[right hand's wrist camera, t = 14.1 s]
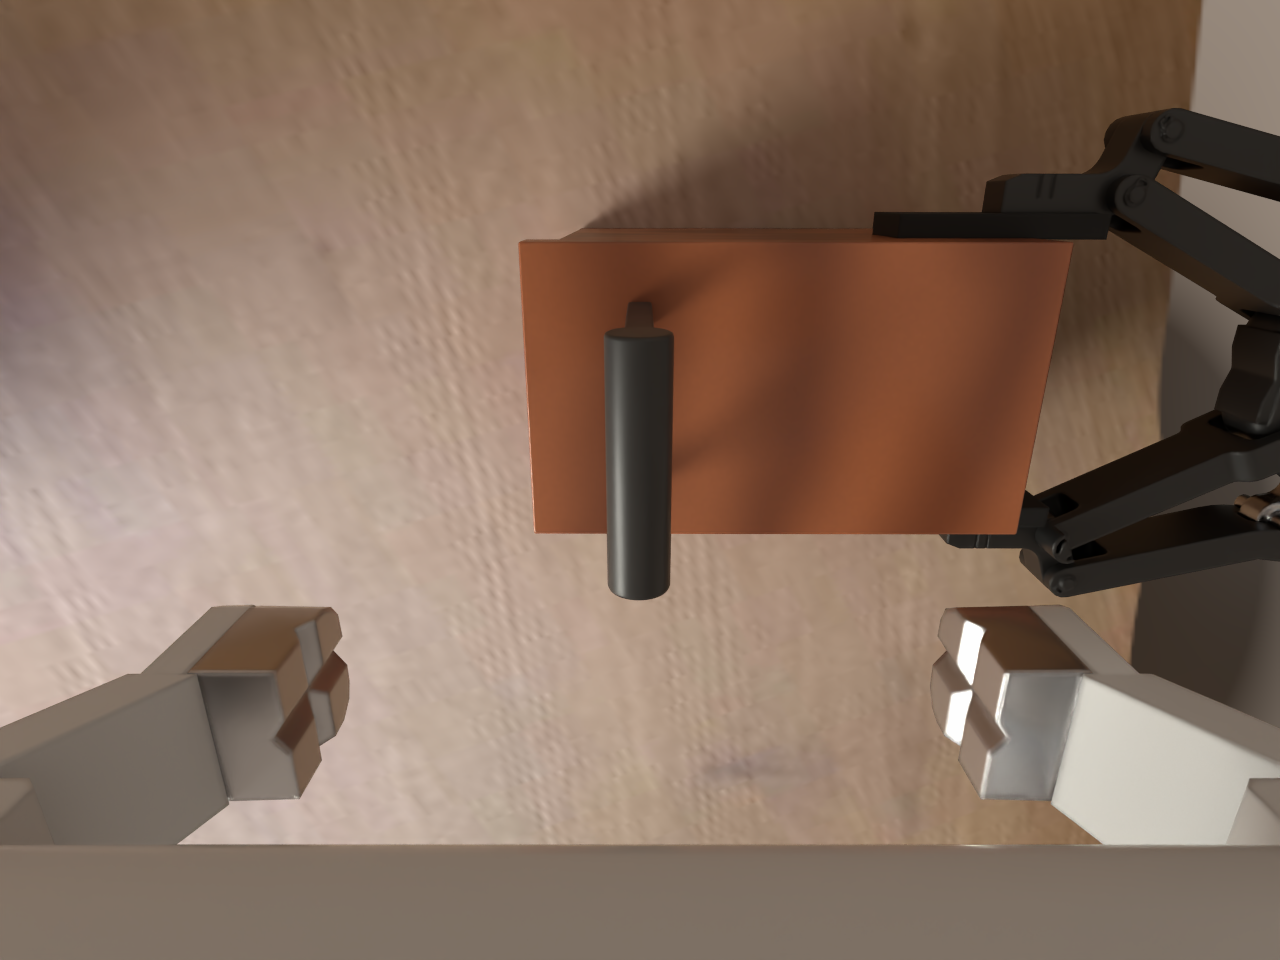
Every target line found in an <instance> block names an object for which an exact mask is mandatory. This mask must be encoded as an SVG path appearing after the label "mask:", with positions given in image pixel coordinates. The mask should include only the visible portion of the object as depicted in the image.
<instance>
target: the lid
mask: <svg viewBox="0 0 1280 960" xmlns="http://www.w3.org/2000/svg"><path fill="white" fill-rule="evenodd" d="M518 245H519V263H520V282H521V300H522V318H523V337H524V355H525V373H526V392H527V410H528V428H529V447H530V465H531V483H532V502H533V520H534V532H535V533H575V534H607V564H608V586H609V588H610V590H611V591H612V592H613V593H614V594H615V595H617V596H619V597H622V598H625V599H630V600H648V599H653V598H656V597H659V596H661V595H663V594H664V593H665V592H666V591H667V590H668V588H669V586H670V558H671V534H1016V533H1017V528H1018V523H1019V518H1020V513H1021V508H1022V503H1023V498H1024V493H1025V488H1026V483H1027V478H1028V473H1029V468H1030V463H1031V458H1032V452H1033V447H1034V442H1035V437H1036V432H1037V427H1038V422H1039V417H1040V412H1041V407H1042V402H1043V397H1044V392H1045V387H1046V382H1047V377H1048V372H1049V366H1050V361H1051V356H1052V351H1053V346H1054V341H1055V336H1056V331H1057V326H1058V321H1059V316H1060V311H1061V306H1062V301H1063V296H1064V291H1065V285H1066V280H1067V275H1068V270H1069V265H1070V260H1071V255H1072V250H1073V245H1074V244H1073V242H1066V241H1056V240H524V241H521V242H519V244H518Z"/></svg>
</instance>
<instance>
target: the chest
mask: <svg viewBox="0 0 1280 960" xmlns="http://www.w3.org/2000/svg"><path fill="white" fill-rule="evenodd" d="M872 232H873V229H813V228H582V229H580V230H578V231H576V232H574V233H572V234H570V235H568V236H566V237H564V238H562V239H560V240H1045V239H1034V238H892V237H886V236H879V235H872Z"/></svg>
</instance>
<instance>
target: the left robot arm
mask: <svg viewBox="0 0 1280 960" xmlns="http://www.w3.org/2000/svg"><path fill="white" fill-rule="evenodd" d="M1104 144H1105V150H1104V152H1103V154H1102V155H1101V157H1100V159H1099V160H1098V162H1097V163H1096V164H1095V165H1094V166H1093V167H1092V168H1091V169H1090V170H1088V171H1087V172H1085V173H1082V174H1012V175H1002V176H1000V177H997V178H995V179H992V180H990V181H987V183H986V189H985V195H984V202H983V208H982V212H875V213H874V223H873V232H872V235H879V236H886V237H892V238H1034V239H1103V240H1106V239H1107V234H1108V230H1109V231H1111V232H1112V233H1114V234H1116V235H1117V236H1119V237H1121V238H1122V239H1124V240H1126V241H1127V242H1129V243H1130V244H1132V245H1134V246H1135V247H1137V248H1139V249H1140V250H1142V251H1144V252H1145V253H1147V254H1148V255H1150V256H1152V257H1153V258H1155V259H1157V260H1158V261H1160V262H1162V263H1163V264H1165V265H1166V266H1168V267H1170V268H1171V269H1173V270H1175V271H1176V272H1178V273H1180V274H1181V275H1183V276H1184V277H1186V278H1188V279H1189V280H1191V281H1193V282H1194V283H1196V284H1198V285H1199V286H1201V287H1202V288H1204V289H1206V290H1207V291H1209V292H1211V293H1212V294H1214V295H1215V296H1216V300H1217V301H1218V302H1220V303H1221V304H1223V305H1225V306H1226V307H1228V308H1230V309H1231V310H1233V311H1234V312H1236V313H1238V314H1239V315H1241V316H1243V317H1244V318H1246V319H1248V320H1249V321H1248V323H1247V324H1246V325H1238V327H1237V330H1236V334H1235V337H1234V341H1233V344H1232V367H1231V370H1230V372H1229V374H1228V375H1227V377H1226V379H1225V381H1224V383H1223V384H1222V386H1221V388H1220V390H1219V394H1218V397H1217V401H1216V404H1215V408H1214V409H1215V410H1213V411H1211V412H1208V413H1206V414H1204V415H1201V416H1199V417H1197V418H1195V419H1192V420H1190V421H1188V422H1186V423H1184V424H1183V425H1182V426H1181V431H1180V432H1179V433H1177V434H1175V435H1173V436H1171V437H1168V438H1166V439H1164V440H1161V441H1159V442H1157V443H1155V444H1152V445H1150V446H1148V447H1145V448H1143V449H1141V450H1138V451H1136V452H1134V453H1131V454H1129V455H1127V456H1125V457H1122V458H1120V459H1118V460H1115V461H1113V462H1111V463H1108V464H1106V465H1104V466H1101V467H1099V468H1097V469H1094V470H1092V471H1090V472H1088V473H1085V474H1083V475H1081V476H1078V477H1076V478H1074V479H1071V480H1069V481H1067V482H1064V483H1062V484H1060V485H1058V486H1055V487H1053V488H1051V489H1048V490H1046V491H1044V492H1041V493H1039V494H1037V495H1034V496H1033V495H1031V494H1030V493H1029V492H1028V491H1026V490H1025V493H1024V498H1023V503H1022V508H1021V513H1020V518H1019V523H1018V528H1017V533H1016V534H939V535H940V536H941V537H942V539H943V540H944V541H945V542H946V543H947V544H950V545H952V546H955V547H957V548H1022V550H1021V551H1020V556H1019V558H1020V562H1021V563H1022V564H1023V565H1024V566H1025V567H1026V568H1027V569H1028V570H1029V571H1030V572H1031V573H1032V574H1033V575H1034V576H1035V577H1036V578H1037V579H1038V580H1039V581H1041V582H1042V583H1043V584H1044V585H1045V586H1046V587H1047V588H1048V589H1049V590H1050V591H1051V592H1052V593H1053V594H1054V595H1056V596H1059V597H1070V596H1075V595H1080V594H1085V593H1090V592H1095V591H1100V590H1105V589H1110V588H1115V587H1120V586H1125V585H1130V584H1135V583H1140V582H1145V581H1150V580H1155V579H1160V578H1165V577H1170V576H1175V575H1180V574H1186V573H1191V572H1196V571H1201V570H1206V569H1210V568H1215V567H1221V566H1226V565H1231V564H1236V563H1241V562H1246V561H1251V560H1256V559H1262V560H1271V561H1280V483H1279V485H1278V486H1277V487H1276V488H1275V489H1273V490H1272V491H1270V492H1267V493H1263V494H1257V495H1253V496H1251V497H1250V496H1248V495H1244V494H1243V495H1240V496H1239V497H1237V498H1236V500H1235V502H1234V505H1210V506H1203V507H1197V508H1193V509H1188V510H1183V511H1178V512H1173V513H1168V514H1163V515H1158V516H1153V515H1155V514H1158V513H1160V512H1163V511H1165V510H1167V509H1170V508H1172V507H1174V506H1177V505H1179V504H1182V503H1184V502H1186V501H1189V500H1191V499H1194V498H1196V497H1198V496H1201V495H1203V494H1205V493H1208V492H1210V491H1213V490H1215V489H1218V488H1220V487H1222V486H1225V485H1227V484H1230V483H1233V482H1238V481H1241V482H1253V481H1259V480H1262V479H1265V478H1267V477H1270V476H1272V475H1274V474H1277V475H1278V476H1280V259H1278V258H1277V257H1275V256H1274V255H1272V254H1270V253H1269V252H1267V251H1266V250H1264V249H1263V248H1261V247H1259V246H1258V245H1256V244H1255V243H1253V242H1251V241H1250V240H1248V239H1247V238H1245V237H1244V236H1242V235H1240V234H1239V233H1237V232H1236V231H1234V230H1232V229H1231V228H1229V227H1228V226H1226V225H1225V224H1223V223H1221V222H1220V221H1218V220H1217V219H1215V218H1214V217H1212V216H1210V215H1209V214H1207V213H1206V212H1204V211H1203V210H1201V209H1199V208H1198V207H1196V206H1195V205H1193V204H1191V203H1190V202H1188V201H1187V200H1185V199H1184V198H1182V197H1180V196H1179V195H1177V194H1176V193H1174V192H1172V191H1171V190H1169V189H1168V188H1166V187H1165V186H1163V185H1161V184H1160V183H1158V182H1157V181H1155V178H1156V176H1157V174H1158V172H1159V171H1160V169H1163V170H1167V171H1170V172H1174V173H1178V174H1181V175H1185V176H1188V177H1192V178H1196V179H1199V180H1203V181H1207V182H1210V183H1214V184H1217V185H1221V186H1225V187H1228V188H1232V189H1236V190H1239V191H1243V192H1246V193H1250V194H1254V195H1257V196H1261V197H1265V198H1268V199H1272V200H1275V201H1279V202H1280V136H1276V135H1273V134H1269V133H1266V132H1262V131H1259V130H1255V129H1252V128H1248V127H1245V126H1241V125H1238V124H1234V123H1231V122H1227V121H1224V120H1220V119H1217V118H1213V117H1210V116H1206V115H1202V114H1199V113H1195V112H1192V111H1188V110H1185V109H1181V108H1171V109H1166V110H1160V111H1154V112H1148V113H1142V114H1137V115H1131V116H1125V117H1122V118H1119V119H1117V120H1115V121H1114V122H1113V123H1112V124H1111V125H1110V126H1109V128H1108V129H1107V131H1106V133H1105V138H1104ZM1151 516H1153V517H1151ZM1148 517H1149V518H1148Z"/></svg>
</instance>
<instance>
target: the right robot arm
mask: <svg viewBox="0 0 1280 960" xmlns="http://www.w3.org/2000/svg"><path fill="white" fill-rule="evenodd" d="M341 638H342V632H341V627H340V622H339V617H338V614H337V613H336V612H335V611H334V610H333V609H332V608H331V607H300V606H254V605H231V606H217V607H211V608H210V609H209V610H208V611H207V612H206V613H205V614H204V615H203V616H202V617H201V618H200V619H199V620H197V621H196V622H195V623H194V624H193V625H192V626H191V627H190V628H189V629H188V630H187V631H186V632H185V633H184V634H183V635H181V636H180V637H179V638H178V639H177V640H176V641H175V642H174V643H173V644H172V645H171V646H170V647H169V648H168V649H167V650H165V651H164V652H163V653H162V654H161V655H160V656H159V657H158V658H157V659H156V660H155V661H154V662H153V663H152V664H151V665H149V666H148V667H147V668H146V669H145V670H144V671H143V672H142V673H141V674H127V675H124V676H122V677H119V678H117V679H115V680H112V681H110V682H108V683H105V684H103V685H101V686H98V687H96V688H93V689H91V690H89V691H86V692H84V693H82V694H79V695H77V696H74V697H72V698H70V699H67V700H65V701H63V702H60V703H58V704H56V705H53V706H51V707H48V708H46V709H44V710H41V711H39V712H37V713H34V714H32V715H29V716H27V717H25V718H22V719H20V720H18V721H15V722H13V723H10V724H8V725H6V726H3V727H1V728H0V960H1280V728H1279V727H1276V726H1274V725H1272V724H1269V723H1267V722H1264V721H1262V720H1260V719H1257V718H1255V717H1253V716H1250V715H1248V714H1246V713H1243V712H1241V711H1238V710H1236V709H1234V708H1231V707H1229V706H1227V705H1224V704H1222V703H1220V702H1217V701H1215V700H1212V699H1210V698H1208V697H1205V696H1203V695H1201V694H1198V693H1196V692H1194V691H1191V690H1189V689H1186V688H1184V687H1182V686H1179V685H1177V684H1175V683H1172V682H1170V681H1168V680H1165V679H1163V678H1161V677H1158V676H1156V675H1153V674H1139V673H1138V672H1137V671H1136V670H1135V669H1134V668H1133V667H1132V666H1131V665H1130V664H1129V663H1127V662H1126V661H1125V660H1124V659H1123V658H1122V657H1121V656H1120V655H1119V654H1118V653H1117V652H1116V651H1115V650H1114V649H1113V648H1111V647H1110V646H1109V645H1108V644H1107V643H1106V642H1105V641H1104V640H1103V639H1102V638H1101V637H1100V636H1099V635H1098V634H1097V633H1096V632H1094V631H1093V630H1092V629H1091V628H1090V627H1089V626H1088V625H1087V624H1086V623H1085V622H1084V621H1083V620H1082V619H1081V618H1080V617H1078V616H1077V615H1076V614H1075V613H1074V612H1073V611H1072V610H1071V609H1070V608H1068V607H1065V606H1061V605H1042V606H1002V607H961V608H948V609H945V611H944V614H943V616H942V618H941V620H940V626H939V631H938V638H939V639H940V641H941V642H942V644H943V645H944V647H945V648H946V650H947V651H946V652H945V653H944V654H943V655H942V656H941V657H940V658H939V659H938V660H937V661H936V662H935V663H934V664H933V668H932V676H931V684H930V690H931V700H932V708H933V711H934V714H935V718H936V721H937V723H938V725H939V727H940V729H941V731H942V732H943V734H944V736H946V737H947V738H949V739H950V740H952V741H953V742H955V743H957V744H958V745H960V746H961V747H960V753H959V758H958V761H959V762H960V764H961V766H962V768H963V769H964V771H965V773H966V775H967V776H968V778H969V780H970V781H971V783H972V785H973V787H974V788H975V790H976V792H977V794H978V795H979V797H980V799H996V800H1033V801H1051V805H1053V806H1054V807H1055V808H1057V809H1058V810H1059V811H1061V812H1062V813H1063V814H1064V815H1066V816H1067V817H1068V818H1070V819H1071V820H1072V821H1074V822H1075V823H1076V824H1078V825H1079V826H1080V827H1081V828H1083V829H1084V830H1085V831H1087V832H1088V833H1089V834H1091V835H1092V836H1093V837H1095V838H1096V839H1097V840H1098V841H1100V842H1101V843H1102V844H1104V845H177V844H178V843H179V842H180V841H182V840H183V839H184V838H186V837H187V836H188V835H190V834H191V833H192V832H194V831H195V830H196V829H198V828H199V827H200V826H201V825H203V824H204V823H205V822H207V821H208V820H209V819H211V818H212V817H213V816H215V815H216V814H217V813H218V812H220V811H221V810H222V809H224V808H225V807H226V806H228V805H229V802H228V801H247V800H282V799H300V797H301V795H302V794H303V792H304V790H305V788H306V787H307V785H308V783H309V782H310V780H311V778H312V776H313V775H314V773H315V771H316V769H317V768H318V766H319V764H320V762H321V761H322V758H321V753H320V747H319V746H320V745H322V744H323V743H325V742H327V741H328V740H330V739H331V738H333V737H334V736H336V734H337V732H338V730H339V729H340V727H341V725H342V723H343V721H344V718H345V714H346V710H347V706H348V702H349V674H348V668H347V664H346V663H345V662H344V661H343V660H342V659H341V658H340V657H339V656H338V655H337V654H336V653H335V652H334V651H333V650H334V648H335V647H336V645H337V644H338V642H339V641H340V639H341Z"/></svg>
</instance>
